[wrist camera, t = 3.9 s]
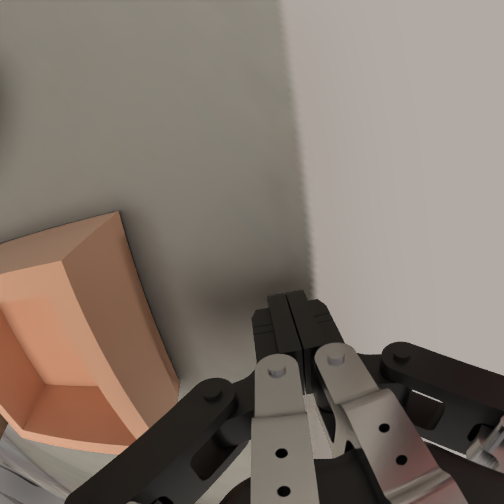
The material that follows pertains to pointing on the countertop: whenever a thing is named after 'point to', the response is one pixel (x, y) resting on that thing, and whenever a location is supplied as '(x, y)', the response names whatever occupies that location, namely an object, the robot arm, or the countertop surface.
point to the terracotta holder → (79, 340)
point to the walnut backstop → (2, 425)
